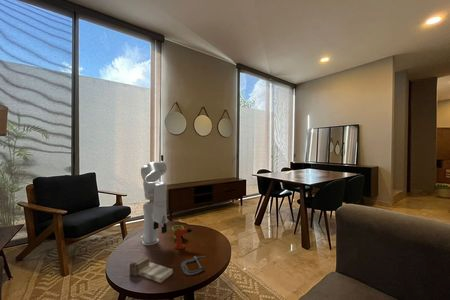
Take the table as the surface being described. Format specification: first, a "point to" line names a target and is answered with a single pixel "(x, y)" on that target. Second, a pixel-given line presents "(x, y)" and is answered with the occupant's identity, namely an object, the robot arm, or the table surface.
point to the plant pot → (176, 228)
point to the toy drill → (181, 237)
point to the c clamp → (190, 262)
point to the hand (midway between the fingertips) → (160, 230)
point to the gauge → (138, 265)
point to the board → (155, 272)
